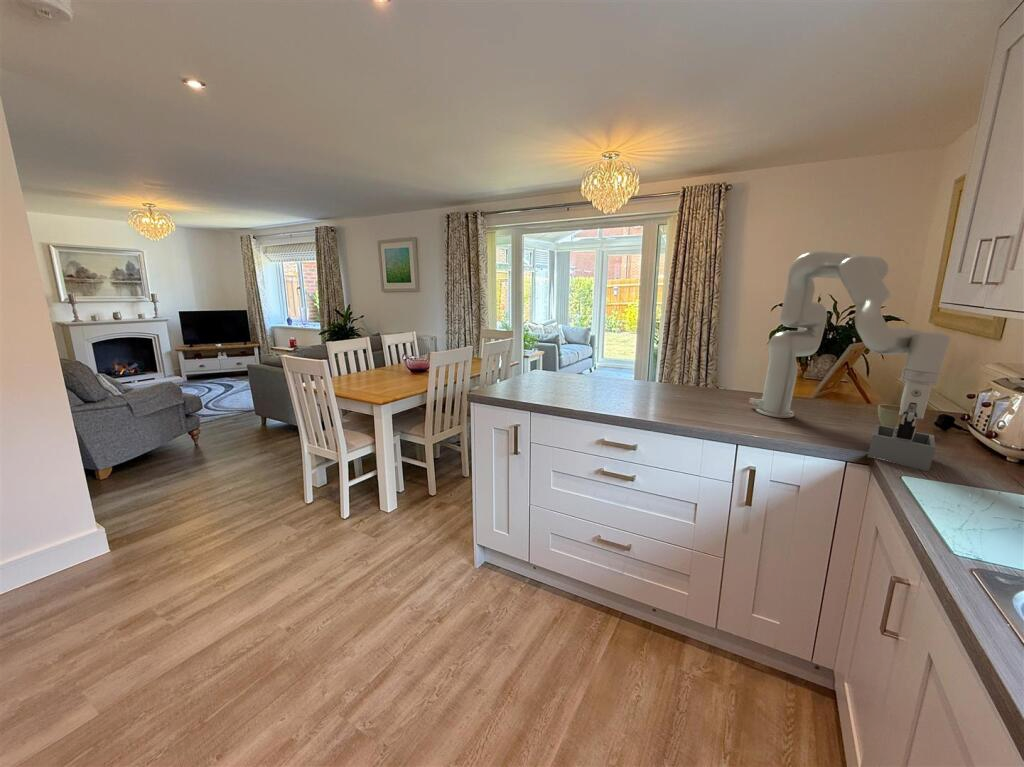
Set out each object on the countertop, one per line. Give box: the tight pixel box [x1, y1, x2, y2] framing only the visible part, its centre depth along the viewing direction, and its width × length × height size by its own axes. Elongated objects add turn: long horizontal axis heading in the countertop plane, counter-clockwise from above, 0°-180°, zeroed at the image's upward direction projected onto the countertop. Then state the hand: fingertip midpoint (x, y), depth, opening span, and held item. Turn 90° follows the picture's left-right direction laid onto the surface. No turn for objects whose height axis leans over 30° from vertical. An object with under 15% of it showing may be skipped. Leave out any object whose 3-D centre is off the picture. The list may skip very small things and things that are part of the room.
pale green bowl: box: [877, 404, 900, 428], centre depth 148 cm, size 10×10×7 cm
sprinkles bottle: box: [892, 412, 921, 442], centre depth 121 cm, size 5×5×13 cm
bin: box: [867, 423, 937, 472], centre depth 122 cm, size 13×13×7 cm
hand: (903, 434), depth 121 cm, fingers open, 9 cm apart
